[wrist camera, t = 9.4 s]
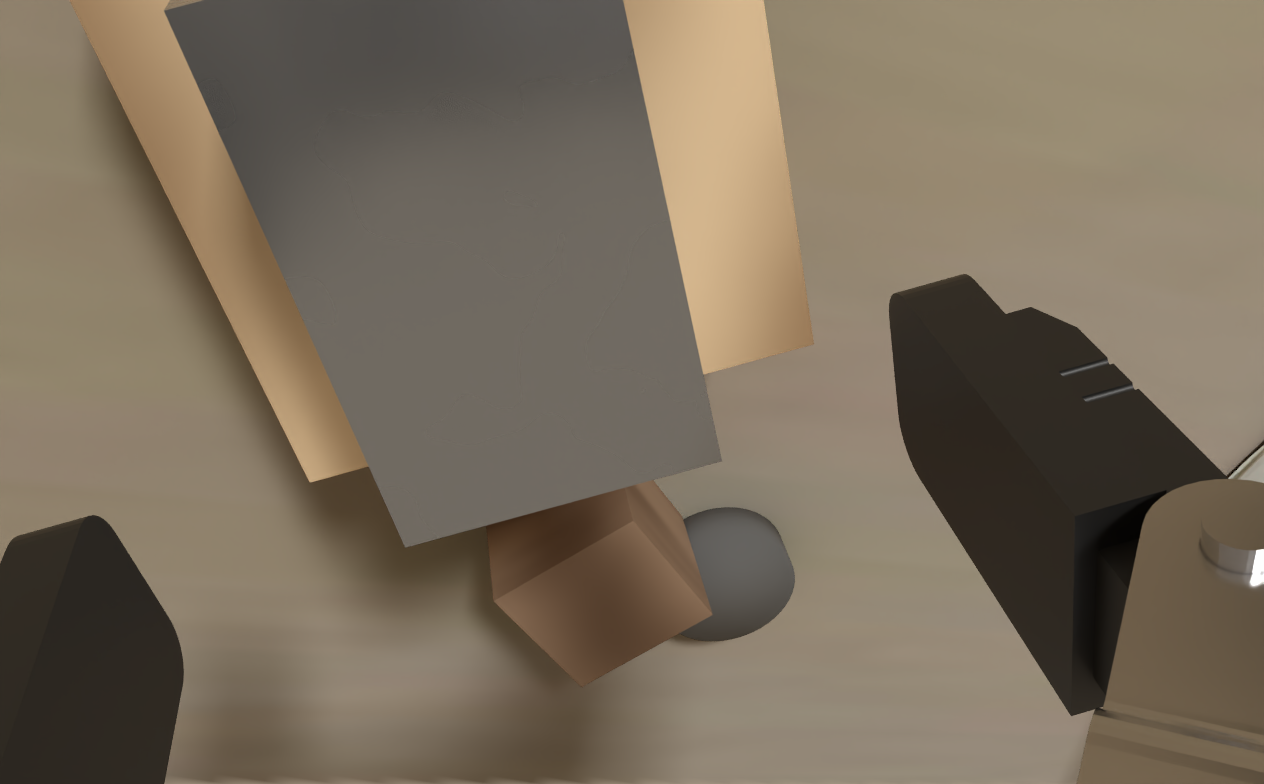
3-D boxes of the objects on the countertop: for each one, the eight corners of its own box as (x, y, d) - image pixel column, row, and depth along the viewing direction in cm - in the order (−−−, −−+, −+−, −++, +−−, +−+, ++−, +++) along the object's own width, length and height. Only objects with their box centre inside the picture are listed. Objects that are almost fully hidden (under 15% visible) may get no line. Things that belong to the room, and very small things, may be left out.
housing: (223, -91, 16) (164, 10, 12) (551, -178, 16) (600, -106, 12) (404, 364, 21) (405, 547, 17) (660, 295, 21) (722, 460, 17)
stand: (327, 314, 27) (309, 482, 22) (80, -249, 20) (-30, -199, 15) (735, 203, 27) (813, 344, 22) (628, -395, 20) (706, -396, 15)
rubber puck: (660, 618, 35) (670, 655, 34) (636, 522, 33) (645, 557, 32) (787, 586, 35) (801, 620, 34) (772, 487, 33) (786, 521, 32)
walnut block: (563, 581, 33) (581, 687, 30) (483, 497, 31) (493, 600, 28) (681, 514, 33) (712, 614, 30) (608, 423, 31) (633, 520, 27)
